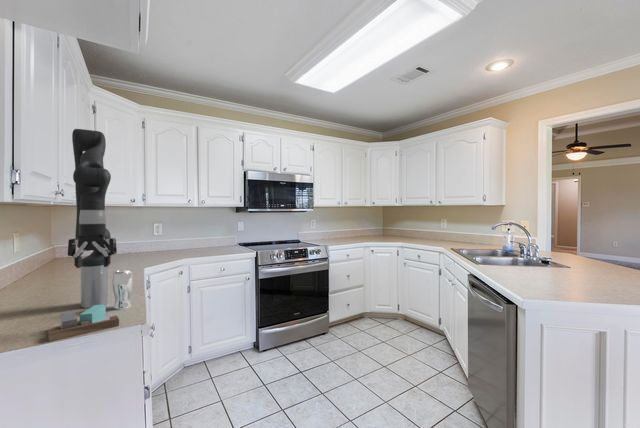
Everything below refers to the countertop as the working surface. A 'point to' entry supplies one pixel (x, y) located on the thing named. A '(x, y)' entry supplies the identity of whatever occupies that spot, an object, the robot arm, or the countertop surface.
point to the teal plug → (93, 314)
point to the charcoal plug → (68, 320)
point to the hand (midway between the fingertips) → (92, 267)
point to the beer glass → (122, 288)
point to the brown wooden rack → (82, 328)
